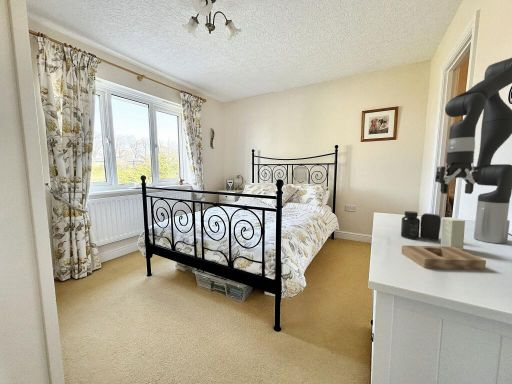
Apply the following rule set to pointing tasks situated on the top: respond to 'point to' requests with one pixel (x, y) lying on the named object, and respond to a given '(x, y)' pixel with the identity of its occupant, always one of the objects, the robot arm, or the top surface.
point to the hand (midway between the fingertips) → (456, 193)
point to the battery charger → (430, 226)
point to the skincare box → (452, 232)
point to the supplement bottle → (410, 225)
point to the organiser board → (443, 257)
